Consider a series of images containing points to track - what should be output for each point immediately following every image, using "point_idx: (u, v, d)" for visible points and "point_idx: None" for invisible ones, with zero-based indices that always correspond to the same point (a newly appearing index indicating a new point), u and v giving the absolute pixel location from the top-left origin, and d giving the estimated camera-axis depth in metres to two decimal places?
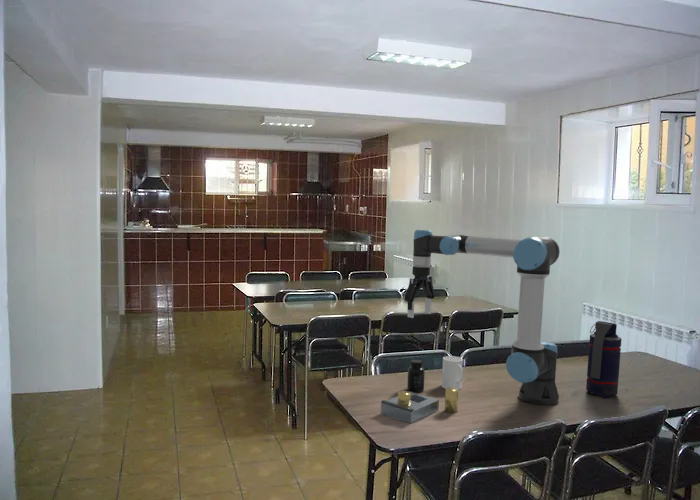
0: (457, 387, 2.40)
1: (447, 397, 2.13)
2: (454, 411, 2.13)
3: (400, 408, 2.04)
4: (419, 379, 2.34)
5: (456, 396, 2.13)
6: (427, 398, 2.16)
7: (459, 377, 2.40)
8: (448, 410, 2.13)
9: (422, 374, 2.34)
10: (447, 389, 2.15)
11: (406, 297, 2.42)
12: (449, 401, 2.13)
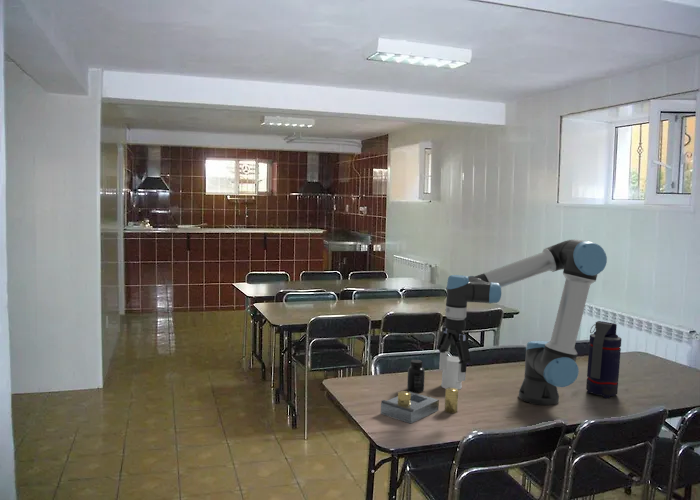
0: (457, 387, 2.40)
1: (447, 397, 2.13)
2: (454, 411, 2.13)
3: (400, 408, 2.04)
4: (419, 379, 2.34)
5: (456, 396, 2.13)
6: (427, 398, 2.16)
7: None
8: (448, 410, 2.13)
9: (422, 374, 2.34)
10: (447, 389, 2.15)
11: (466, 358, 2.04)
12: (449, 401, 2.13)
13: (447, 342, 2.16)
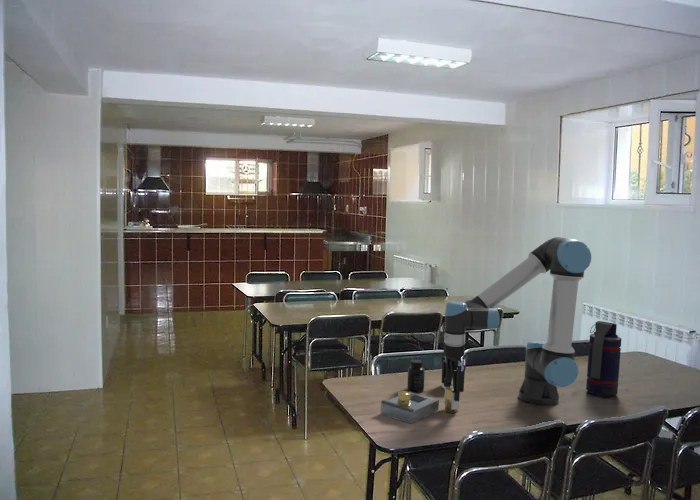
0: None
1: (447, 397, 2.13)
2: (454, 411, 2.13)
3: (400, 408, 2.04)
4: (419, 379, 2.34)
5: None
6: (427, 398, 2.16)
7: None
8: (449, 410, 2.13)
9: (422, 374, 2.34)
10: (447, 389, 2.15)
11: (459, 389, 2.09)
12: (449, 401, 2.13)
13: (449, 371, 2.15)
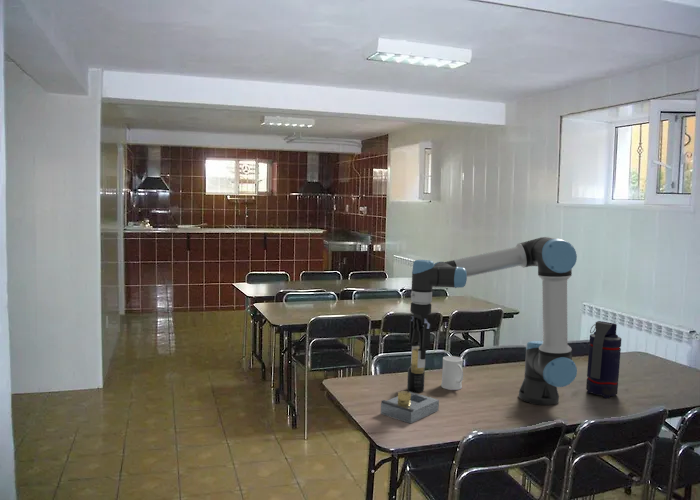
0: (457, 387, 2.40)
1: (414, 358, 2.12)
2: (420, 372, 2.12)
3: (400, 408, 2.04)
4: (419, 379, 2.34)
5: None
6: (427, 398, 2.16)
7: (459, 377, 2.40)
8: (415, 371, 2.12)
9: (422, 374, 2.34)
10: (414, 350, 2.14)
11: (425, 346, 2.08)
12: (415, 361, 2.12)
13: (416, 330, 2.14)
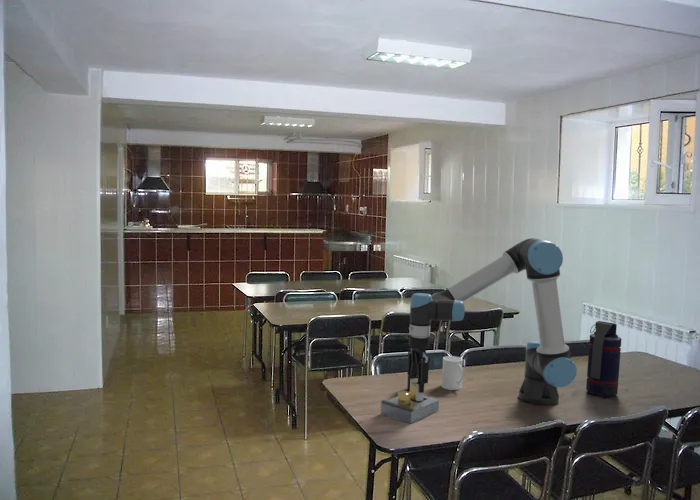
0: (457, 387, 2.40)
1: (412, 392, 2.13)
2: None
3: (400, 408, 2.04)
4: None
5: None
6: (427, 398, 2.16)
7: (459, 377, 2.40)
8: None
9: None
10: (412, 384, 2.15)
11: (423, 380, 2.09)
12: (414, 396, 2.13)
13: (414, 363, 2.15)
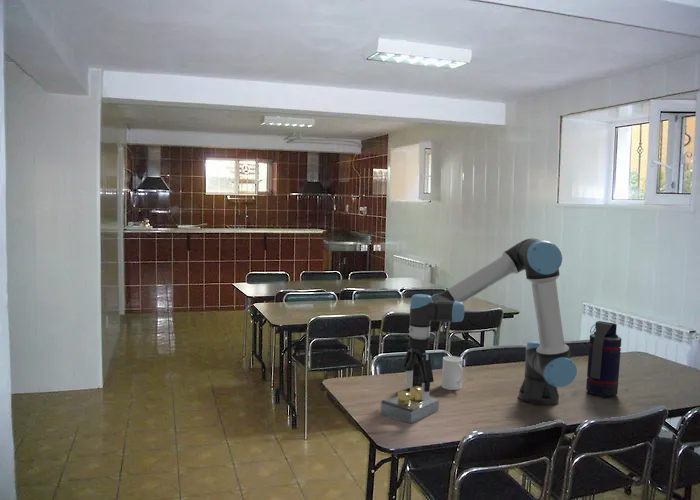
0: (457, 387, 2.40)
1: (411, 396, 2.14)
2: None
3: (400, 408, 2.04)
4: (419, 379, 2.34)
5: (420, 394, 2.13)
6: None
7: (459, 377, 2.40)
8: None
9: None
10: (412, 387, 2.15)
11: (428, 378, 2.05)
12: (413, 399, 2.13)
13: (412, 361, 2.17)
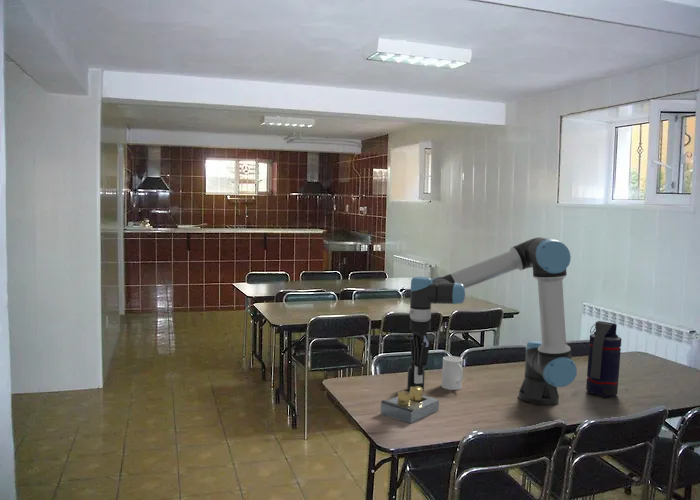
0: (457, 387, 2.40)
1: (411, 396, 2.14)
2: None
3: (400, 408, 2.04)
4: None
5: (420, 394, 2.13)
6: (427, 398, 2.16)
7: (459, 377, 2.40)
8: None
9: None
10: (411, 387, 2.15)
11: (422, 363, 2.10)
12: (413, 399, 2.13)
13: (416, 347, 2.14)
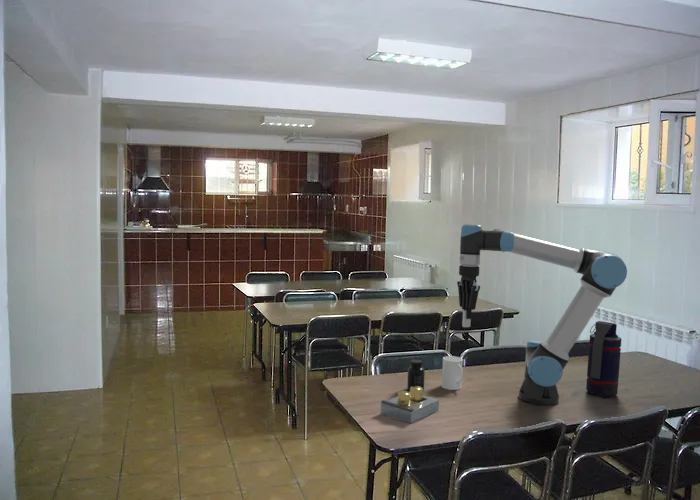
0: (457, 387, 2.40)
1: (412, 396, 2.13)
2: None
3: (400, 408, 2.04)
4: (419, 379, 2.34)
5: (420, 394, 2.13)
6: (427, 398, 2.16)
7: (459, 377, 2.40)
8: None
9: (422, 374, 2.34)
10: (412, 387, 2.15)
11: (471, 306, 2.19)
12: (414, 399, 2.13)
13: (465, 292, 2.22)
